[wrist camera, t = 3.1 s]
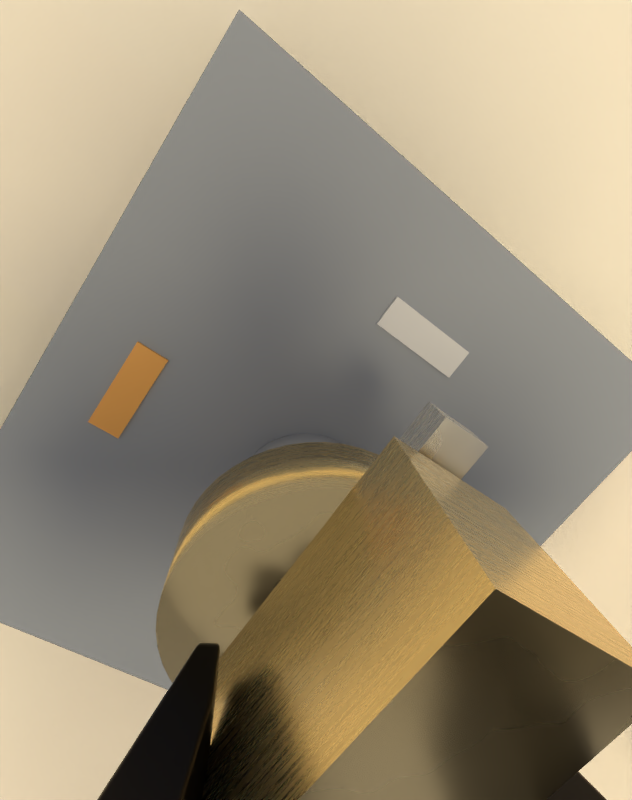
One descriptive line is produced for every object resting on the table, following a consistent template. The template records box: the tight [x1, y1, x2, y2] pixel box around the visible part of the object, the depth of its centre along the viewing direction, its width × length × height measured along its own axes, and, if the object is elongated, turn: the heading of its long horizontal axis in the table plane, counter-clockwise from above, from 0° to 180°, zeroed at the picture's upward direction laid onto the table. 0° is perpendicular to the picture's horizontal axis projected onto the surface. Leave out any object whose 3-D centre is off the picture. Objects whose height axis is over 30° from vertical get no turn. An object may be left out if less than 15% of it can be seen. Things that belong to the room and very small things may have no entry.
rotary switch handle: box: [156, 402, 632, 800], centre depth 9 cm, size 10×7×6 cm
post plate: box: [0, 10, 632, 690], centre depth 14 cm, size 20×18×4 cm
